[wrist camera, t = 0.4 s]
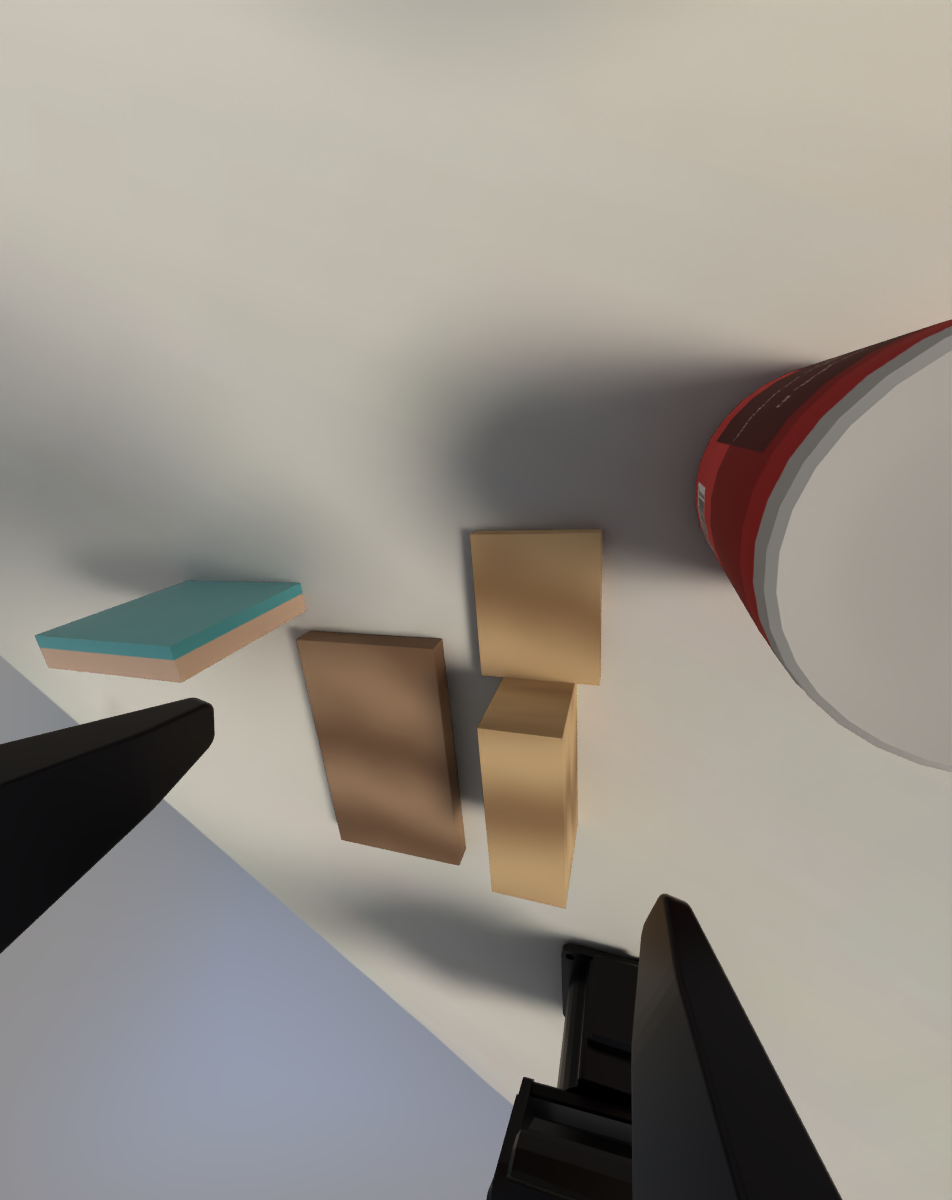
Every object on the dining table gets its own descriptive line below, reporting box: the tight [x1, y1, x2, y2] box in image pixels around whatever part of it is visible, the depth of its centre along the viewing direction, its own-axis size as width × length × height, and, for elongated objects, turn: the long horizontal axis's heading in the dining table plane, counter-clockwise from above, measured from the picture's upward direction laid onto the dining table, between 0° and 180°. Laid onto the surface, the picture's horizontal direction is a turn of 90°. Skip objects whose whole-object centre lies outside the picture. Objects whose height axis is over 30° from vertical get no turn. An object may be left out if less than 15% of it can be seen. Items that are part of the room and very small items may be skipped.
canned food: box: [695, 320, 952, 772], centre depth 12 cm, size 8×8×11 cm
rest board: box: [296, 631, 466, 865], centre depth 27 cm, size 14×8×1 cm, turn 5°
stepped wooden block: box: [470, 529, 602, 909], centre depth 21 cm, size 16×6×5 cm, turn 5°
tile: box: [35, 581, 306, 683], centre depth 23 cm, size 2×8×8 cm, turn 95°
